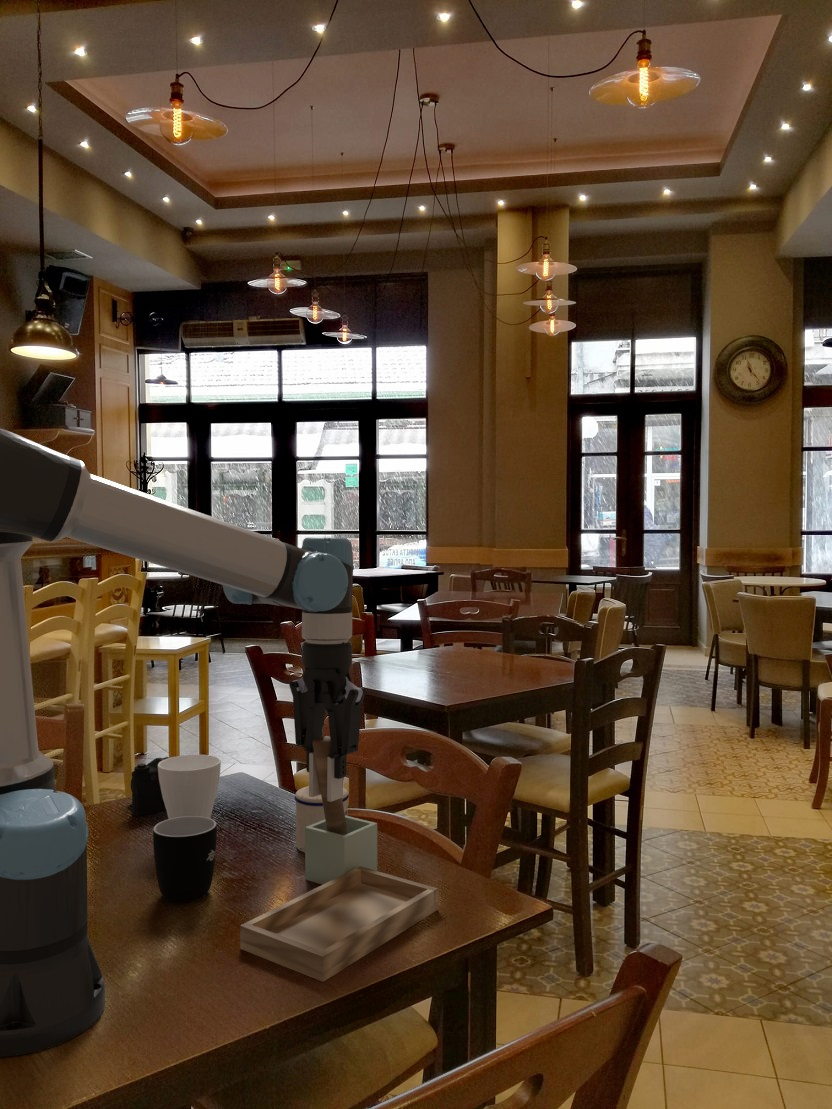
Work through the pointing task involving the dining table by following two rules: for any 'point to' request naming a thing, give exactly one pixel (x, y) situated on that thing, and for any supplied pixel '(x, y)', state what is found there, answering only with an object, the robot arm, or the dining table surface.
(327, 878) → the pot
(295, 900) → the serving tray
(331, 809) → the baguette
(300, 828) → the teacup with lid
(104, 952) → the dining table surface
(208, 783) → the cup
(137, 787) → the black teapot
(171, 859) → the mug
